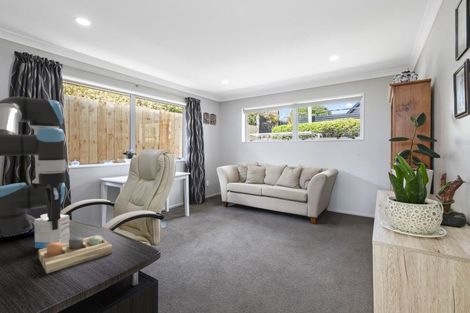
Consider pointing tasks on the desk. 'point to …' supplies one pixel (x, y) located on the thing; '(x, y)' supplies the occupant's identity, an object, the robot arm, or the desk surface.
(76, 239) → the charcoal button
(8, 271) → the desk surface
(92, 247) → the panel
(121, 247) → the desk surface
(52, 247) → the orange button
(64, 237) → the ink box
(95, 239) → the sage button
